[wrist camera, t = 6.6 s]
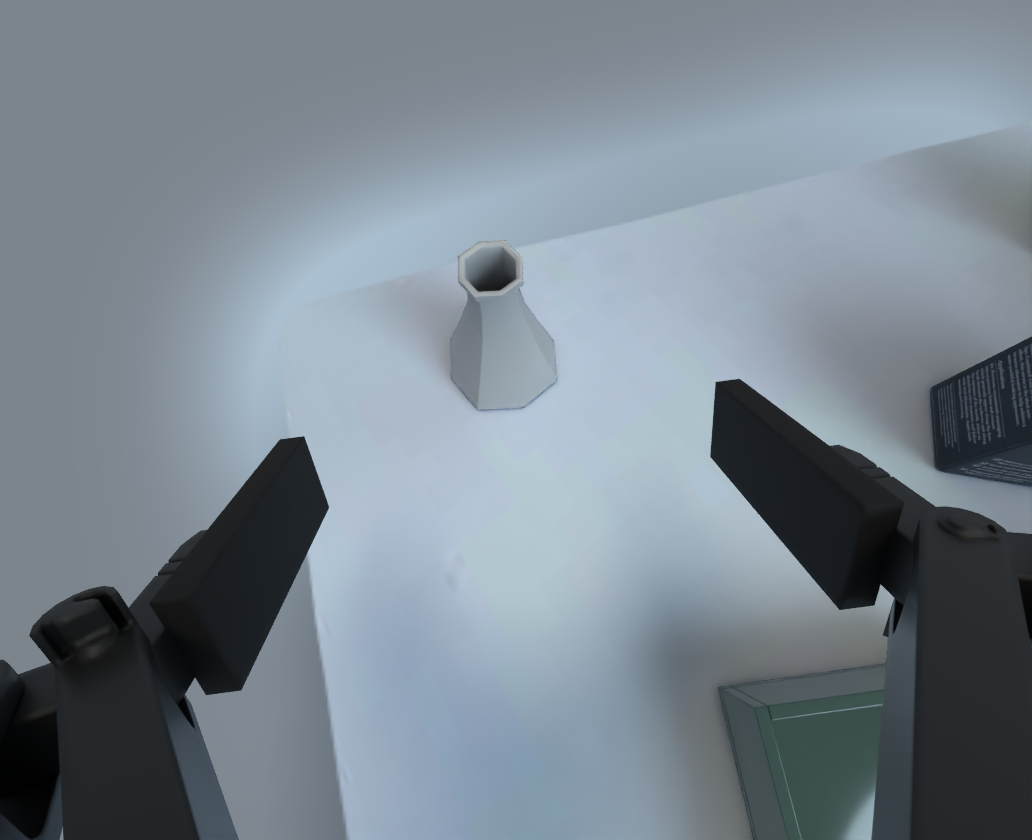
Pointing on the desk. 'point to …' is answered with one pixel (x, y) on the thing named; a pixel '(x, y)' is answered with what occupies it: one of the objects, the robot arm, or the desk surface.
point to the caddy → (808, 752)
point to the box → (987, 418)
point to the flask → (498, 332)
